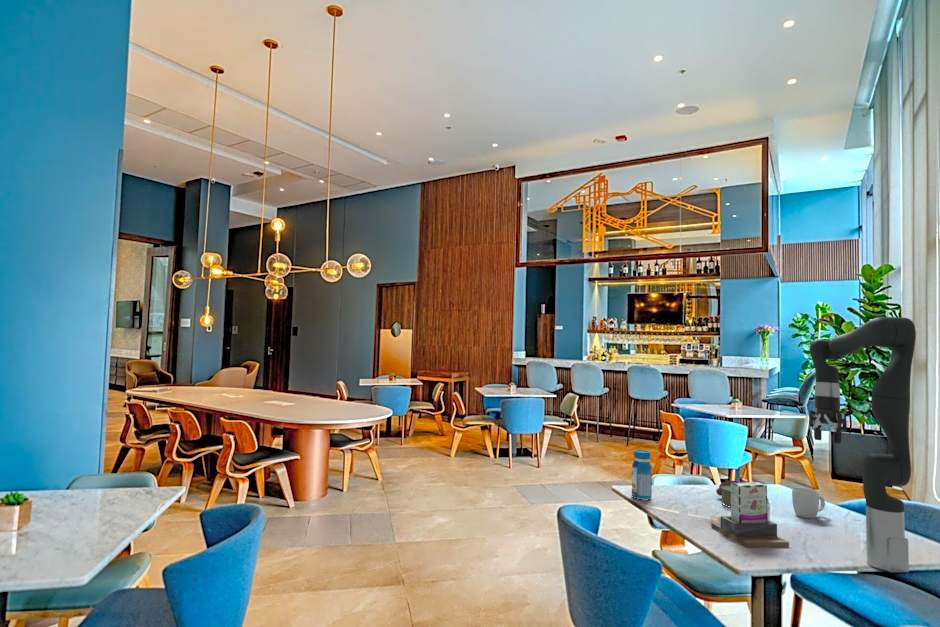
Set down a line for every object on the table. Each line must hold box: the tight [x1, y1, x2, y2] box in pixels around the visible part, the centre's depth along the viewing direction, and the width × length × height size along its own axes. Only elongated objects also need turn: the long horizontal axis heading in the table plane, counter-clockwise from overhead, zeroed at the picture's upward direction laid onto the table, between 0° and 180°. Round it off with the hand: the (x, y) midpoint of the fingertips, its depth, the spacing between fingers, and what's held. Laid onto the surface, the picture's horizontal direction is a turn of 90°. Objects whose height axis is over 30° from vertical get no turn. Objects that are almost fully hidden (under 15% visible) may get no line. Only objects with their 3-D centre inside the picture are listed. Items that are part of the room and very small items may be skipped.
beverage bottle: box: [631, 449, 653, 501], centre depth 230 cm, size 8×8×20 cm
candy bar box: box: [730, 481, 769, 523], centre depth 185 cm, size 11×5×16 cm, turn 102°
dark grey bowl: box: [721, 486, 731, 508], centre depth 223 cm, size 12×12×7 cm
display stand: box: [710, 515, 790, 548], centre depth 184 cm, size 20×15×6 cm
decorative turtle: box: [715, 480, 748, 497], centre depth 234 cm, size 10×15×8 cm, turn 105°
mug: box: [791, 487, 826, 519], centre depth 212 cm, size 13×9×10 cm
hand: (827, 441), depth 189 cm, fingers open, 8 cm apart
